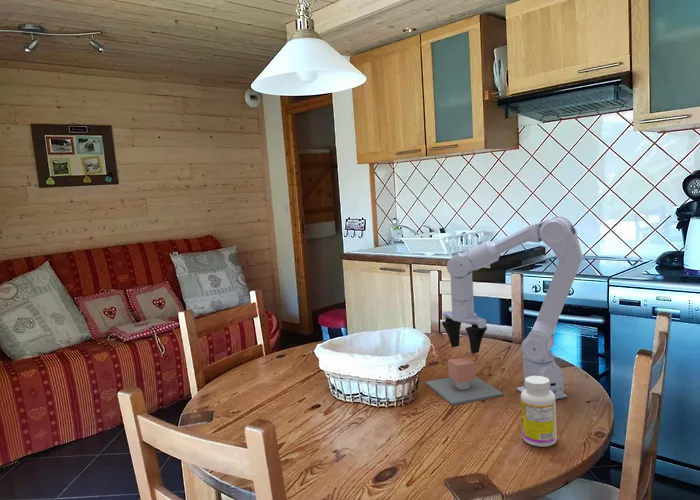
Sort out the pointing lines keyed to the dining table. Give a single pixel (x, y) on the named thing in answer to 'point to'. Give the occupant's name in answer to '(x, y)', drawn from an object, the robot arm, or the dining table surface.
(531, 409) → the supplement bottle
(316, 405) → the dining table surface
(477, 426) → the dining table surface
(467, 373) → the peach rounded cube
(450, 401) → the grey square base plate
